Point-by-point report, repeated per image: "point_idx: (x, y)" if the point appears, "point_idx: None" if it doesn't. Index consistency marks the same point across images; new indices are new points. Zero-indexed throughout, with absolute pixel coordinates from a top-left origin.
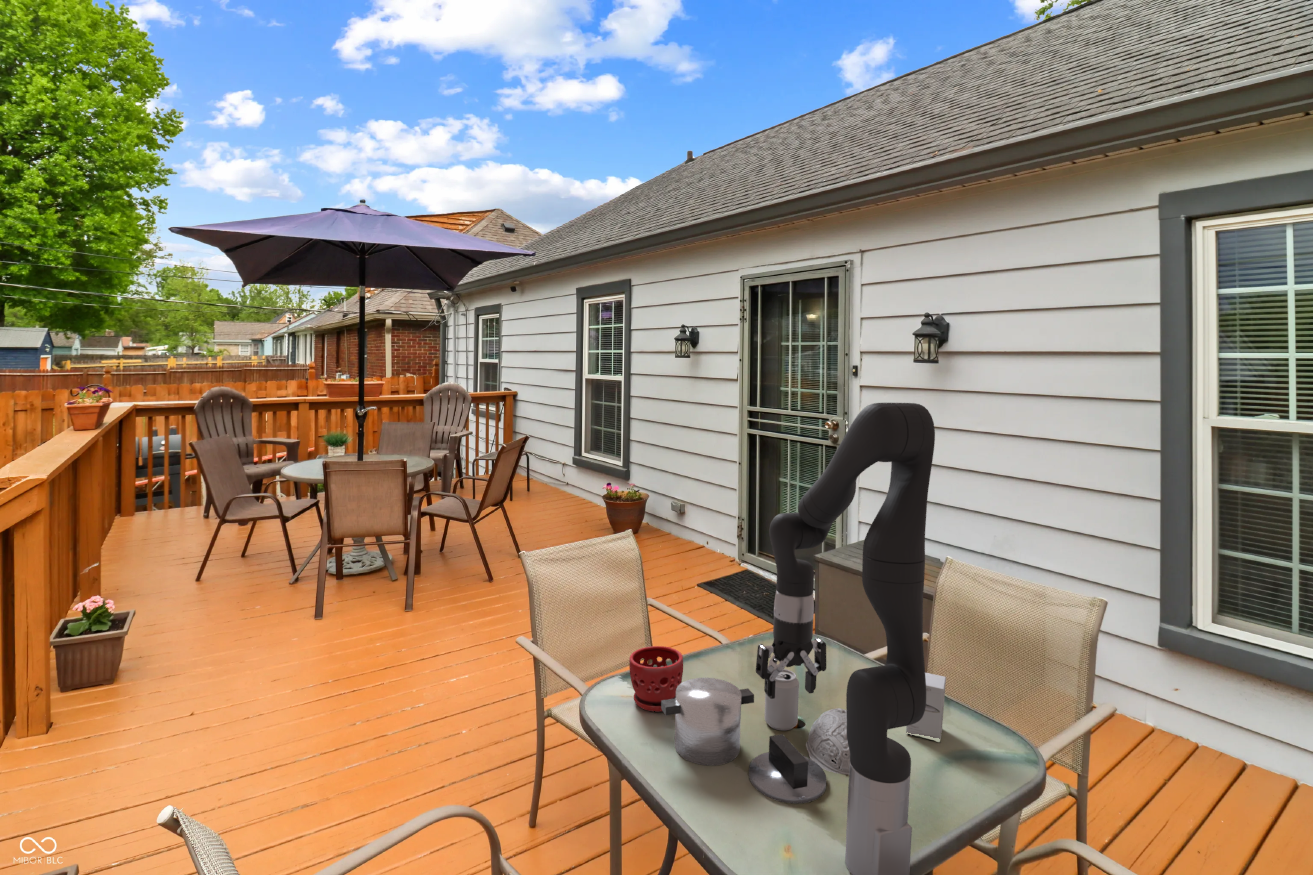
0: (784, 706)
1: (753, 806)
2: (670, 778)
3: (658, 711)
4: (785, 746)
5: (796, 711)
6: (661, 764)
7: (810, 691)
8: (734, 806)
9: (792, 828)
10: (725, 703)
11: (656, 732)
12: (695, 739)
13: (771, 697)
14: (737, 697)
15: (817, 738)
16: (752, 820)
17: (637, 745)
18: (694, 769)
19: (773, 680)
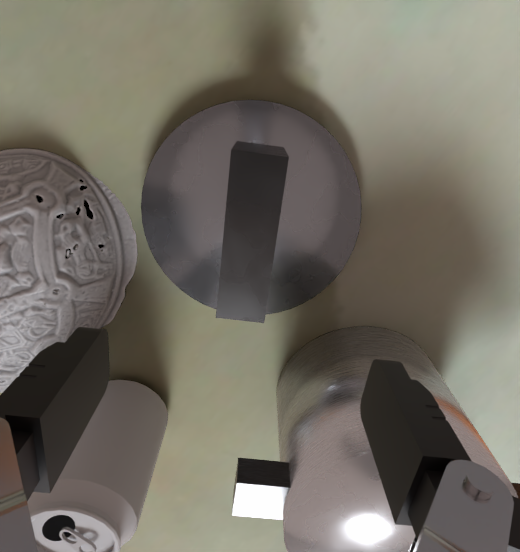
0: (119, 430)
1: (413, 149)
2: (514, 325)
3: None
4: (250, 257)
5: None
6: (495, 373)
7: (100, 335)
8: (457, 170)
9: (382, 11)
10: None
11: None
12: (451, 393)
13: (401, 365)
14: (328, 481)
15: (82, 304)
16: (457, 97)
17: (492, 444)
18: (441, 333)
19: (451, 462)
